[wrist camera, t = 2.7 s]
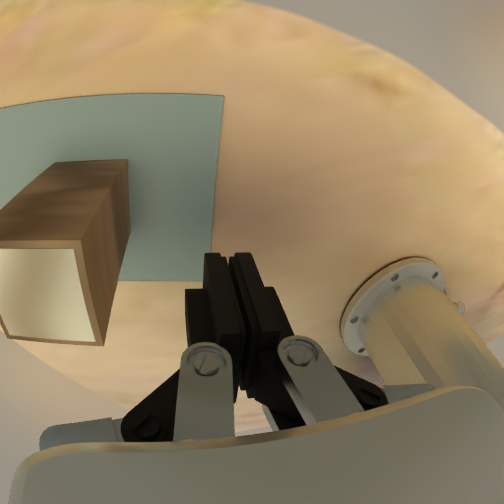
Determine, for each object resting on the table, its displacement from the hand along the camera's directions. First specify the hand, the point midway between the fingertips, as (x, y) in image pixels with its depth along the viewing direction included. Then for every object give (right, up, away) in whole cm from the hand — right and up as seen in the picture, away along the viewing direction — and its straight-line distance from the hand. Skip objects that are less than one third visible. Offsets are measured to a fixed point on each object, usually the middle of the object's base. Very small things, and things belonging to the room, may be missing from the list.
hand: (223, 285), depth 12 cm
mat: (-12, +5, +6) cm, 14 cm away
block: (-9, +5, +6) cm, 12 cm away
